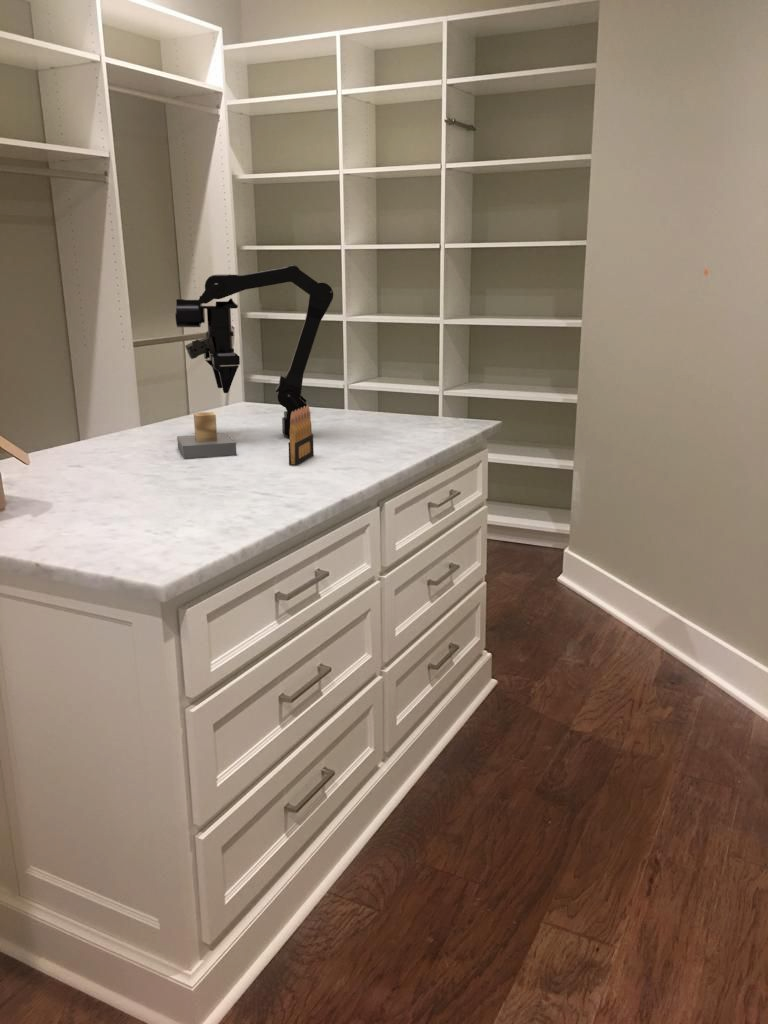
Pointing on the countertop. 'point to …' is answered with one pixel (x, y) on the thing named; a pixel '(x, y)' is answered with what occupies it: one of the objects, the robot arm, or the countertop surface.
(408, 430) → the countertop surface
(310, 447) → the ammunition clip
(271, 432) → the countertop surface
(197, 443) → the slate base
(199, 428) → the wooden block
